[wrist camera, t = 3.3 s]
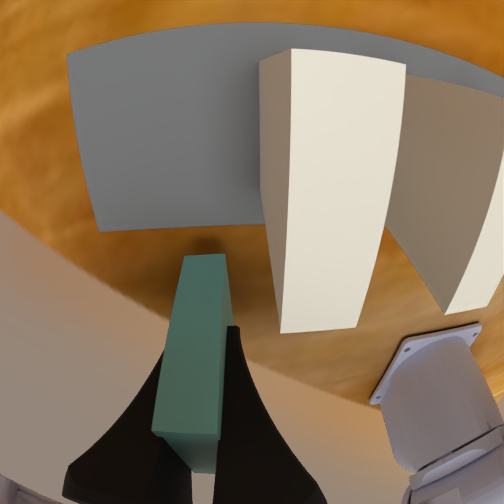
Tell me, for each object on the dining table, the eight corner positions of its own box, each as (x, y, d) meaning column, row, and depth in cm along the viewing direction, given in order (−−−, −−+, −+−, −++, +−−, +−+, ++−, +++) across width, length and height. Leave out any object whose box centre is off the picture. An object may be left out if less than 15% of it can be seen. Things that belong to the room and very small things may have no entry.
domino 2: (305, 62, 9) (405, 64, 3) (300, 190, 12) (355, 327, 6) (259, 61, 9) (291, 48, 3) (260, 190, 12) (280, 333, 6)
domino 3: (405, 76, 9) (550, 120, 3) (390, 191, 12) (486, 306, 6) (368, 69, 9) (511, 100, 3) (357, 190, 12) (444, 314, 6)
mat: (546, 222, 13) (549, 225, 13) (102, 227, 13) (99, 231, 12) (571, 120, 9) (575, 122, 8) (71, 54, 8) (66, 54, 8)
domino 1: (225, 253, 12) (217, 434, 6) (235, 335, 15) (236, 473, 9) (184, 255, 12) (151, 430, 6) (203, 336, 15) (194, 472, 9)
